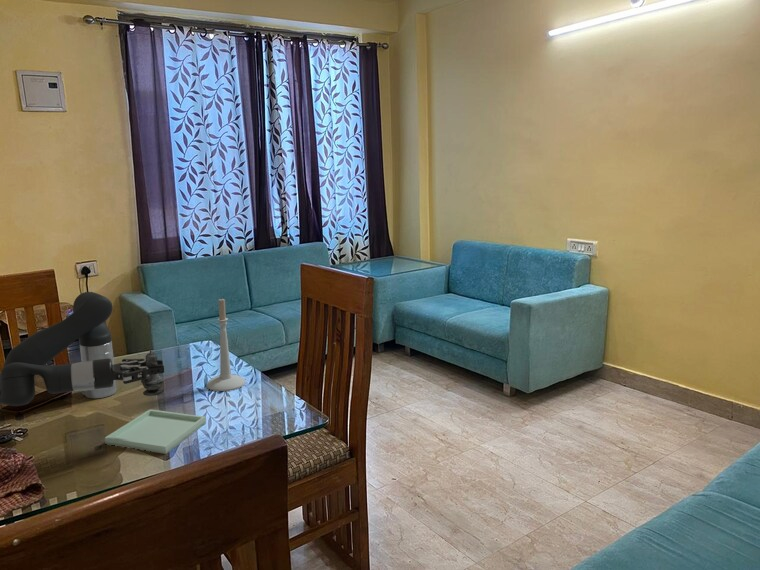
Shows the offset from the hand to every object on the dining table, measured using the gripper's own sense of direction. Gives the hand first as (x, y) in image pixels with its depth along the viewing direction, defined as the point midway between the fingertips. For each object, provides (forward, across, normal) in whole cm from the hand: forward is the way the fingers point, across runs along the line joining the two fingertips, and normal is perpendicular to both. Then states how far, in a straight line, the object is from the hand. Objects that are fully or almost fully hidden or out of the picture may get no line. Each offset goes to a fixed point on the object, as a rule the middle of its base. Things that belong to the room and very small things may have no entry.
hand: (163, 366), depth 154 cm
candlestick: (+21, -30, -19) cm, 41 cm away
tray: (-2, 0, -19) cm, 19 cm away
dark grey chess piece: (-3, 0, -7) cm, 8 cm away
